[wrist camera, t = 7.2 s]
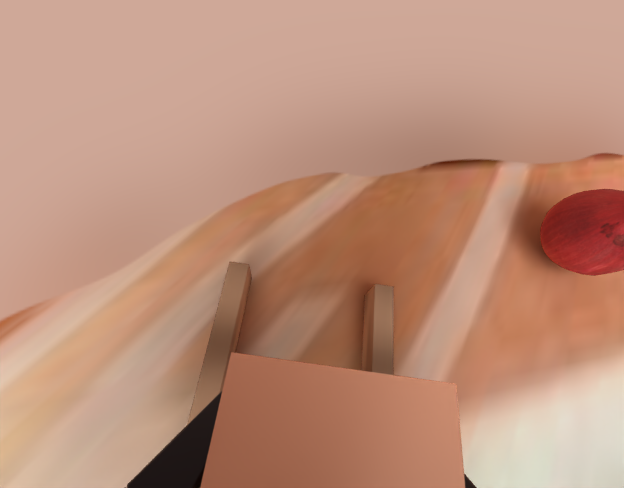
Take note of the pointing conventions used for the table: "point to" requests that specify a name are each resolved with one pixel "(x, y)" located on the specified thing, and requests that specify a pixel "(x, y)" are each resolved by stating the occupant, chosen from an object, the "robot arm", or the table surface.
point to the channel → (230, 319)
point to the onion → (586, 232)
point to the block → (332, 429)
